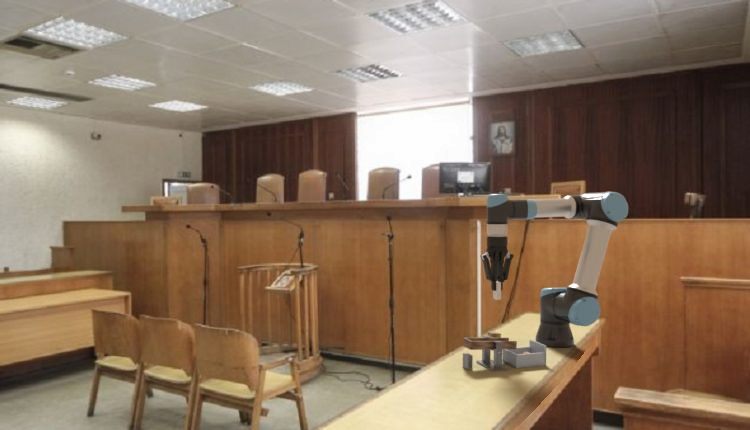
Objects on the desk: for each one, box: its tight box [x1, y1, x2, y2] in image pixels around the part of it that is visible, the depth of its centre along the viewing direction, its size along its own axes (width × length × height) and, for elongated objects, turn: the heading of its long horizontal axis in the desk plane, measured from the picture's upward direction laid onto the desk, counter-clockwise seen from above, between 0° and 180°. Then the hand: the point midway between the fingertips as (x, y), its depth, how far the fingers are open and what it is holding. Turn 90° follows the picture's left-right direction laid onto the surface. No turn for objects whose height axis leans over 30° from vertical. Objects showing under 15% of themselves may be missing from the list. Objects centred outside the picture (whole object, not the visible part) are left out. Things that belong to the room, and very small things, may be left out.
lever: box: [462, 330, 518, 351], centre depth 191 cm, size 18×14×3 cm
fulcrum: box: [462, 335, 509, 372], centre depth 186 cm, size 13×11×10 cm
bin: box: [502, 339, 547, 369], centre depth 192 cm, size 12×9×7 cm
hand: (497, 299), depth 199 cm, fingers closed
